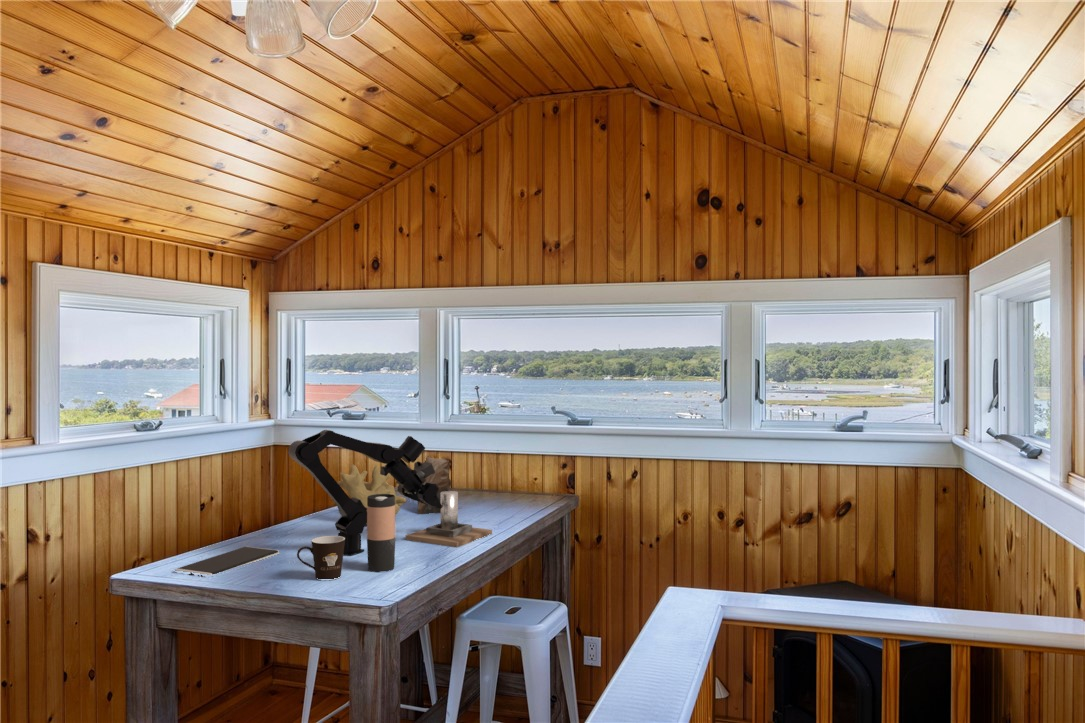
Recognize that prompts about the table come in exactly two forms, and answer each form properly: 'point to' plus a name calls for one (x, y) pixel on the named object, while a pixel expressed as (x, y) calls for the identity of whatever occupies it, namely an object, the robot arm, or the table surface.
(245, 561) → the dark rectangular slab
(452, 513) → the steel cup
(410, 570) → the table surface
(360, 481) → the decorative coral
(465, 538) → the brown flat square board
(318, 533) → the table surface
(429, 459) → the brown carved rock
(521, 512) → the table surface
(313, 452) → the robot arm
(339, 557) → the coffee mug
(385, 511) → the travel mug
